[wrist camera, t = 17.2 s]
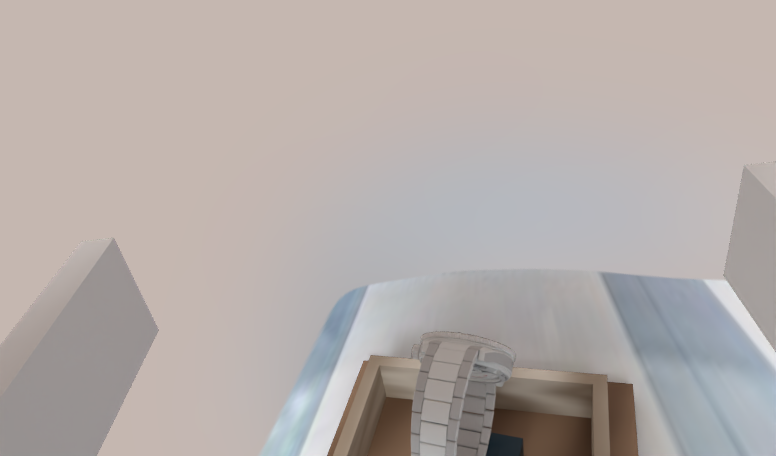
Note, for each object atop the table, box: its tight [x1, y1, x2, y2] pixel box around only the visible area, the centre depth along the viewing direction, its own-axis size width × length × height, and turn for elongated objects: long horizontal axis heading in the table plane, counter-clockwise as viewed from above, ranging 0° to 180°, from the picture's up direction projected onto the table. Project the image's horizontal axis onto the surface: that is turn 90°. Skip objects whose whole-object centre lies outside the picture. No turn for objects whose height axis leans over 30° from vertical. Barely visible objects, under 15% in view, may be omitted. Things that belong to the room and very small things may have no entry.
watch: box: [411, 332, 524, 456], centre depth 31 cm, size 6×8×11 cm
